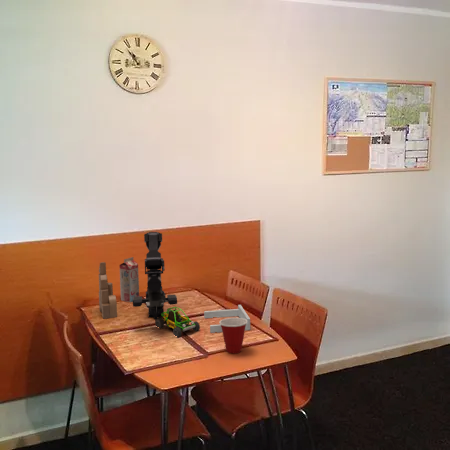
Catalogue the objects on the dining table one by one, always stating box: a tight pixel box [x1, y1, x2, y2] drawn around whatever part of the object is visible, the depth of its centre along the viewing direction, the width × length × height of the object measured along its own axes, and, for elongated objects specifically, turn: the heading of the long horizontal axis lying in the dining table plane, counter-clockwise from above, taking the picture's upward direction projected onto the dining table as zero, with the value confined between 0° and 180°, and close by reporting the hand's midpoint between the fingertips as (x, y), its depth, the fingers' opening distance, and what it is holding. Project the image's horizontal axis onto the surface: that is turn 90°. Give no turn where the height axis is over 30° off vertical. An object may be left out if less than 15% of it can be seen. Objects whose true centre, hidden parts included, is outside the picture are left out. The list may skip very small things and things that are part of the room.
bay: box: [203, 304, 251, 334], centre depth 213 cm, size 17×19×5 cm
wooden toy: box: [98, 261, 118, 320], centre depth 227 cm, size 15×7×25 cm, turn 21°
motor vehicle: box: [154, 306, 201, 338], centre depth 207 cm, size 12×19×11 cm, turn 43°
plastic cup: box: [219, 317, 247, 354], centre depth 184 cm, size 11×11×12 cm
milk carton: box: [119, 257, 140, 303], centre depth 247 cm, size 7×7×22 cm
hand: (155, 319), depth 207 cm, fingers closed
